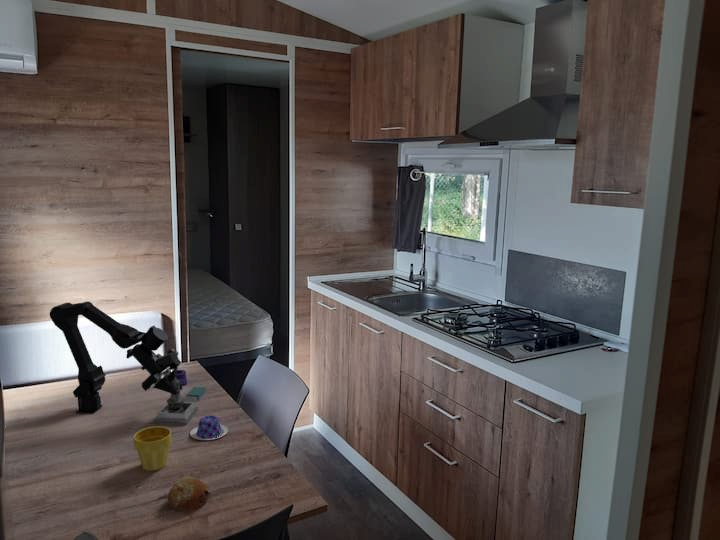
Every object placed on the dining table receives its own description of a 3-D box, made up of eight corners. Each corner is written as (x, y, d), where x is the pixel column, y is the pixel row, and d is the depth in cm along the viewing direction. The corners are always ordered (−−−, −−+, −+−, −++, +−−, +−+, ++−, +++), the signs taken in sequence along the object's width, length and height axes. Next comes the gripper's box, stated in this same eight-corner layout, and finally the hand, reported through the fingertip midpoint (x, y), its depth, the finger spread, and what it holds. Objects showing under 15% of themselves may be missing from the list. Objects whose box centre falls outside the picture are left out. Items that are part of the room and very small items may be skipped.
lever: (168, 378, 239) (168, 371, 239) (184, 376, 242) (183, 368, 242) (175, 388, 229) (174, 380, 229) (191, 385, 232) (191, 377, 232)
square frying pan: (154, 423, 197) (154, 413, 196) (186, 391, 225) (185, 382, 225) (186, 424, 196) (186, 414, 195) (213, 392, 225) (213, 383, 224)
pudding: (182, 439, 186) (182, 423, 185) (202, 423, 197) (202, 409, 197) (216, 444, 183) (215, 428, 182) (234, 428, 194) (234, 413, 193)
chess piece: (184, 412, 199) (183, 379, 197) (166, 414, 198) (165, 380, 196) (185, 405, 205) (184, 373, 203) (167, 407, 204) (166, 374, 201)
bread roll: (181, 503, 157) (166, 478, 155) (215, 486, 157) (201, 462, 155) (172, 525, 147) (157, 499, 145) (209, 508, 147) (194, 482, 145)
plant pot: (137, 477, 162) (135, 445, 160) (133, 461, 171) (131, 430, 169) (176, 469, 167) (174, 437, 165) (169, 453, 176) (168, 423, 174)
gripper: (148, 352, 189) (181, 387, 189) (175, 336, 207) (205, 368, 207) (127, 373, 191) (160, 408, 192) (155, 355, 210) (185, 387, 210)
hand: (179, 391), depth 200 cm, fingers closed on chess piece, 3 cm apart
